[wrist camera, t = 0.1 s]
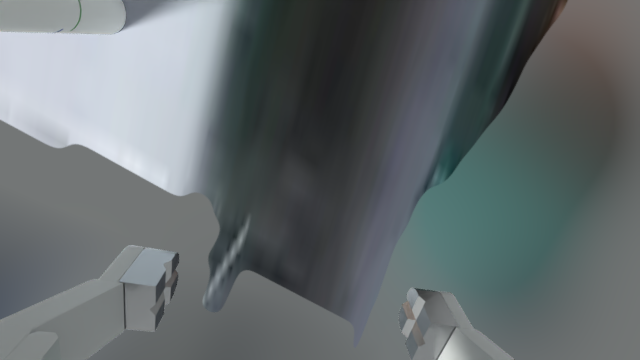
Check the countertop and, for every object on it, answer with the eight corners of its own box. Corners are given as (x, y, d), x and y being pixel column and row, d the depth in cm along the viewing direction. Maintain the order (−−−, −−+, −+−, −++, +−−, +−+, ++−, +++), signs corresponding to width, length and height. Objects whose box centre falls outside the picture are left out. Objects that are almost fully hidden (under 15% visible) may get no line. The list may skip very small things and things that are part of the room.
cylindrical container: (67, -10, 47) (-157, -56, 24) (110, -24, 46) (-77, -86, 24) (94, 40, 50) (-83, 40, 27) (134, 27, 49) (-10, 16, 26)
